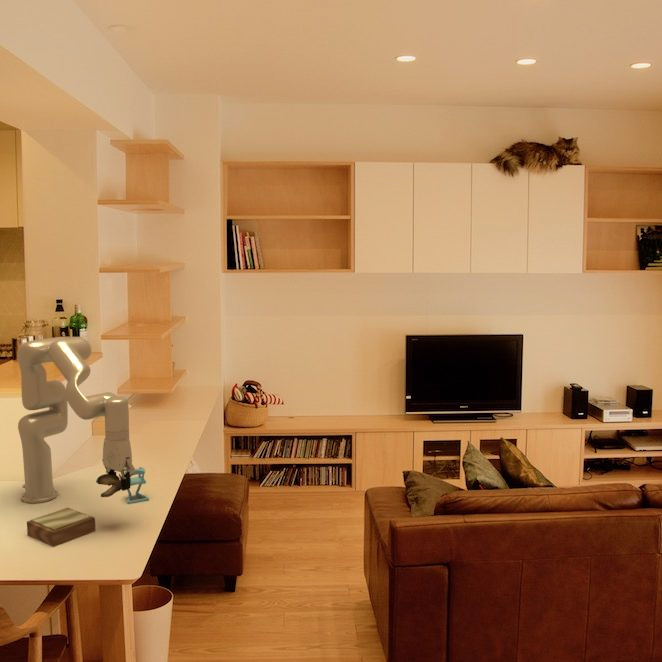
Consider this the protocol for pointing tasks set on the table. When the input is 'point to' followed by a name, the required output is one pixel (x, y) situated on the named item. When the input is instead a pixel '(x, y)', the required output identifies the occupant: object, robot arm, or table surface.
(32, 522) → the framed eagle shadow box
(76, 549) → the table surface
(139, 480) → the chair
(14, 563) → the table surface
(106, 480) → the eagle figurine
